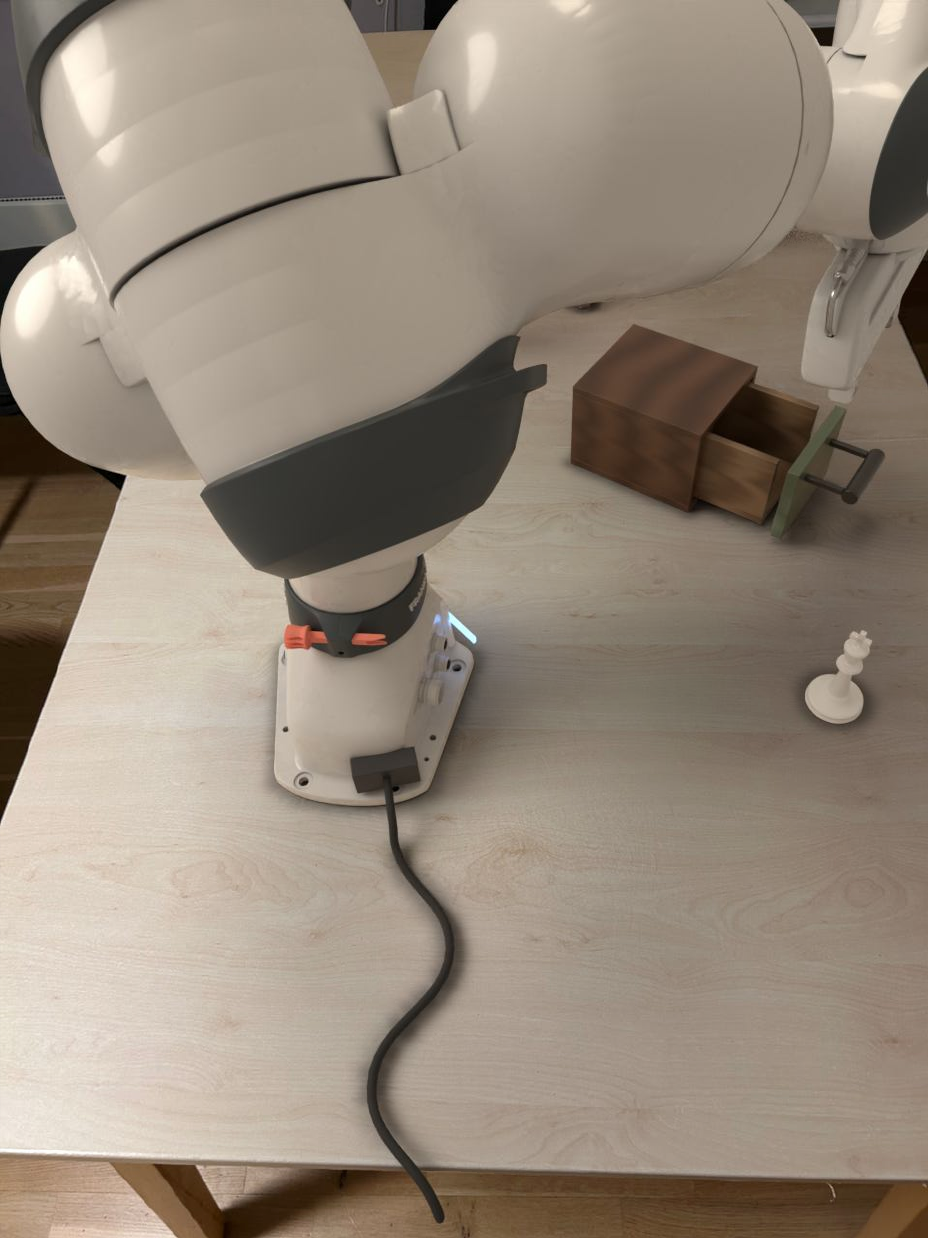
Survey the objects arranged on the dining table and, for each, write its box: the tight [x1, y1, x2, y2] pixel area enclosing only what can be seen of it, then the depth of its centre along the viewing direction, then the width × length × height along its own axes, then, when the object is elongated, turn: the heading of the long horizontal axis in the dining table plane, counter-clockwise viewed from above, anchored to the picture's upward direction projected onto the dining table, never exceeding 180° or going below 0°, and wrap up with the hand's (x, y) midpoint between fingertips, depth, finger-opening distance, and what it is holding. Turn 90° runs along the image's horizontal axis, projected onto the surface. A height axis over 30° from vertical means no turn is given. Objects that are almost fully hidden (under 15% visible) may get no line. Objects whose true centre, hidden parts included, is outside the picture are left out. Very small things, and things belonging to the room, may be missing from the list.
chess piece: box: [804, 629, 873, 725], centre depth 79 cm, size 5×5×10 cm
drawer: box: [693, 382, 886, 541], centre depth 95 cm, size 19×11×9 cm, turn 54°
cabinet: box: [570, 323, 759, 513], centre depth 100 cm, size 15×13×11 cm
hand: (863, 358), depth 74 cm, fingers open, 8 cm apart
